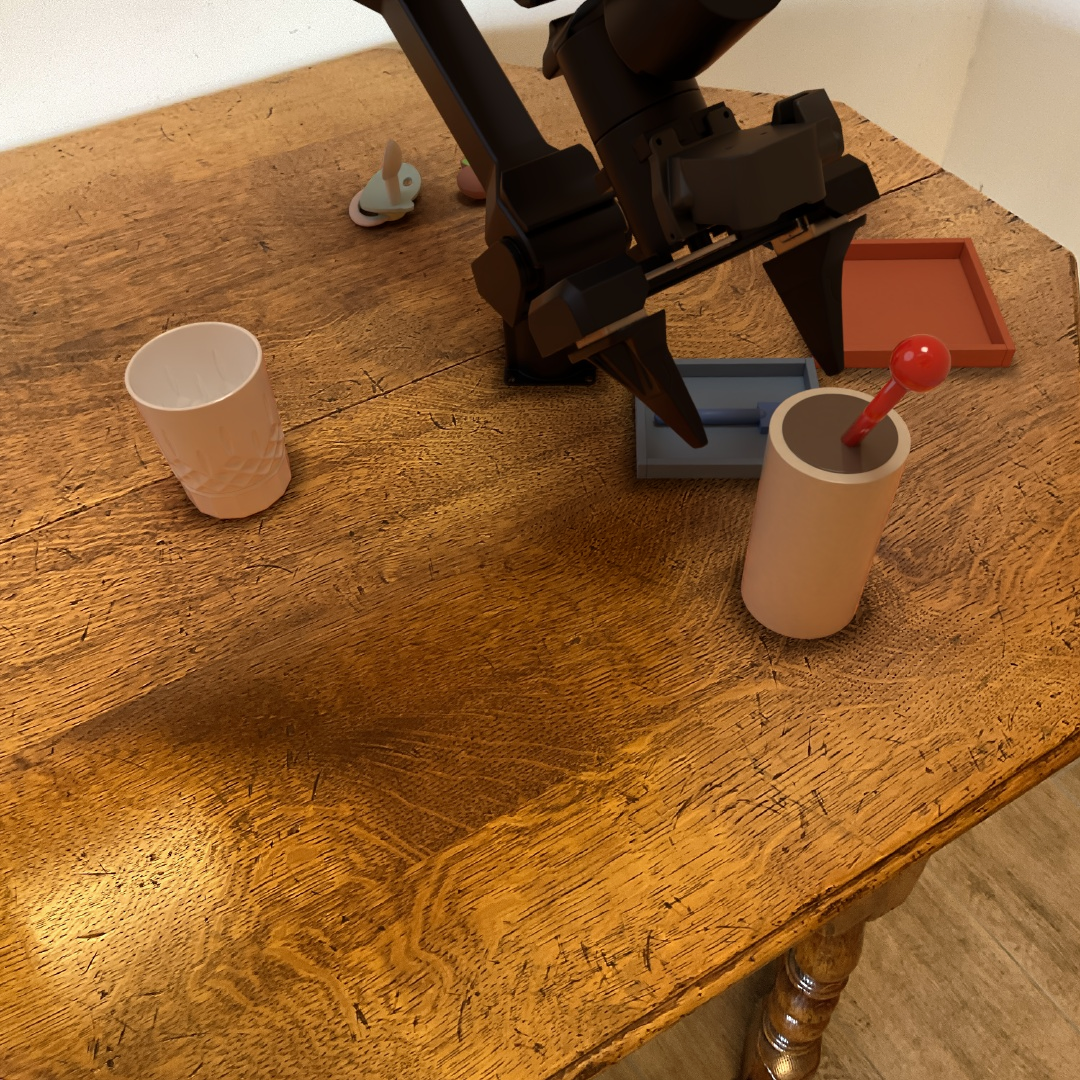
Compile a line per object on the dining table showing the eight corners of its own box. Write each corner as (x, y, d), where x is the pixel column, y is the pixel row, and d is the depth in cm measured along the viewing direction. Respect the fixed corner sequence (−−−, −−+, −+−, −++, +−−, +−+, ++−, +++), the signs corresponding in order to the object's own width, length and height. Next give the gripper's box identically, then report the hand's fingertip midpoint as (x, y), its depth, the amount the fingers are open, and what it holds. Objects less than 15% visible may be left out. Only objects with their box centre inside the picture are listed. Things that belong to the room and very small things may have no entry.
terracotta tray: (813, 373, 70) (818, 350, 68) (791, 262, 78) (795, 239, 77) (1007, 371, 69) (1016, 349, 67) (963, 259, 77) (971, 237, 76)
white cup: (197, 544, 62) (141, 428, 55) (167, 466, 67) (111, 348, 59) (317, 498, 64) (279, 379, 57) (279, 425, 69) (239, 306, 61)
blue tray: (636, 483, 64) (637, 464, 63) (634, 377, 70) (634, 358, 69) (830, 483, 63) (835, 464, 62) (809, 376, 70) (813, 357, 68)
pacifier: (342, 235, 84) (412, 234, 83) (324, 165, 79) (398, 164, 78) (361, 187, 88) (427, 186, 88) (345, 119, 84) (414, 117, 83)
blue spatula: (654, 434, 66) (654, 423, 65) (653, 409, 67) (653, 398, 67) (809, 434, 65) (811, 423, 64) (804, 409, 67) (807, 397, 66)
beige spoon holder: (716, 585, 58) (759, 294, 43) (800, 534, 60) (871, 240, 45) (806, 674, 54) (890, 389, 38) (893, 617, 56) (1006, 324, 41)
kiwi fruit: (522, 182, 87) (520, 154, 85) (486, 210, 84) (483, 182, 82) (472, 165, 89) (470, 137, 87) (436, 192, 87) (432, 164, 85)
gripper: (550, 111, 39) (711, 475, 41) (895, -18, 45) (1018, 305, 47) (467, 205, 49) (599, 491, 51) (756, 90, 55) (863, 351, 57)
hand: (770, 409), depth 51 cm, fingers open, 9 cm apart
